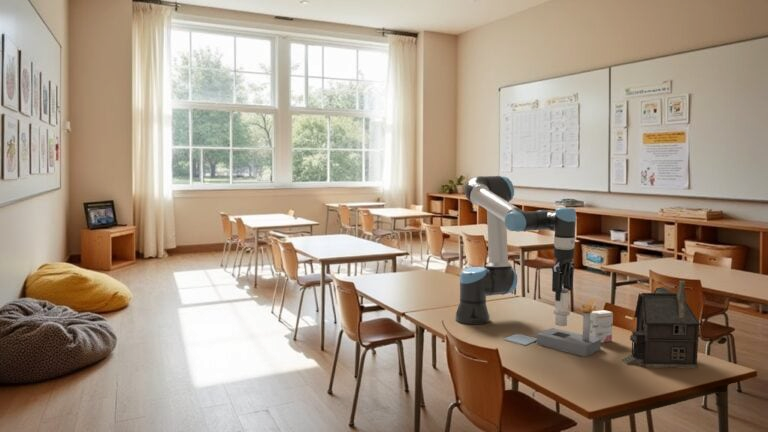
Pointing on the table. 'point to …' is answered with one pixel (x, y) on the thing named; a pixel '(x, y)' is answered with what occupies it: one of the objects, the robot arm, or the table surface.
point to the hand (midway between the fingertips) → (561, 307)
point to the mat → (520, 339)
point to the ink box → (601, 325)
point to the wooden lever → (589, 306)
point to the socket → (571, 339)
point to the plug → (562, 314)
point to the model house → (664, 331)
